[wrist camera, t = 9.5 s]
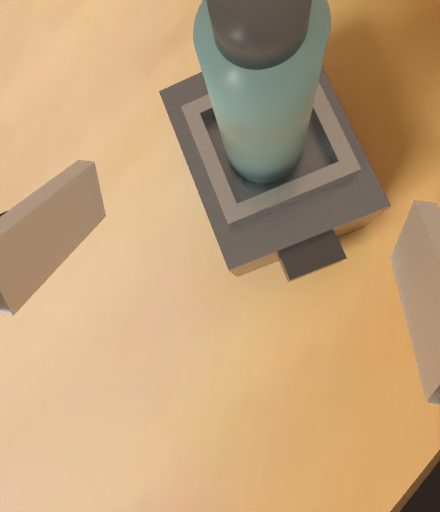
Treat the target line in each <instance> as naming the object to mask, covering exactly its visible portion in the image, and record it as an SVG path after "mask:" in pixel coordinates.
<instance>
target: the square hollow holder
mask: <svg viewBox="0 0 440 512" xmlns="http://www.w3.org/2000/svg"><path fill="white" fill-rule="evenodd" d="M159 92H160V95H161V98H162V100H163V103H164V105H165V108H166V110H167V113H168V115H169V118H170V121H171V123H172V126H173V128H174V131H175V133H176V136H177V139H178V141H179V144H180V146H181V149H182V151H183V154H184V157H185V159H186V162H187V164H188V167H189V169H190V172H191V174H192V177H193V180H194V182H195V185H196V187H197V190H198V192H199V195H200V198H201V200H202V203H203V205H204V208H205V210H206V213H207V216H208V218H209V221H210V223H211V226H212V228H213V231H214V233H215V236H216V239H217V241H218V244H219V246H220V249H221V251H222V254H223V257H224V259H225V262H226V264H227V267H228V269H229V271H230V272H232V273H233V274H234V275H236V276H237V277H238V276H241V275H243V274H246V273H248V272H251V271H253V270H256V269H258V268H261V267H263V266H266V265H268V264H271V263H273V262H276V261H278V260H279V261H280V264H281V266H282V269H283V271H284V273H285V276H286V278H287V280H288V282H290V281H293V280H295V279H298V278H300V277H303V276H305V275H308V274H311V273H313V272H316V271H318V270H321V269H323V268H326V267H328V266H331V265H334V264H336V263H339V262H341V261H342V260H344V259H346V255H345V253H344V251H343V249H342V247H341V244H340V242H339V240H338V238H337V237H339V236H341V235H344V234H346V233H349V232H351V231H354V230H356V229H359V228H361V227H364V226H366V225H367V224H368V223H370V222H371V221H372V220H373V219H375V218H376V217H377V216H378V215H380V214H381V213H382V212H383V211H385V210H386V209H387V208H388V207H390V206H391V205H390V203H389V201H388V198H387V196H386V194H385V192H384V190H383V188H382V186H381V184H380V182H379V180H378V178H377V176H376V174H375V172H374V170H373V168H372V166H371V164H370V162H369V160H368V158H367V156H366V154H365V152H364V150H363V148H362V146H361V144H360V142H359V140H358V138H357V136H356V134H355V132H354V130H353V127H352V125H351V123H350V121H349V119H348V117H347V115H346V113H345V111H344V109H343V107H342V105H341V103H340V101H339V99H338V97H337V95H336V93H335V91H334V89H333V87H332V85H331V83H330V81H329V79H328V77H327V75H326V73H325V71H324V69H323V67H322V68H321V72H320V77H319V81H318V86H317V90H316V94H315V99H314V103H313V108H312V112H311V117H310V121H309V125H308V130H307V134H306V139H305V143H304V148H303V152H302V155H301V158H300V160H299V162H298V164H297V165H296V167H295V168H294V169H293V170H292V171H291V172H290V173H289V174H288V175H286V176H284V177H283V178H281V179H279V180H276V181H272V182H266V183H260V182H253V181H250V180H247V179H245V178H243V177H242V176H240V175H239V174H238V173H237V172H236V171H235V170H234V169H233V168H232V166H231V165H230V163H229V161H228V158H227V155H226V151H225V148H224V144H223V141H222V138H221V134H220V131H219V127H218V124H217V121H216V117H215V114H214V111H213V107H212V104H211V100H210V97H209V94H208V90H207V87H206V83H205V80H204V77H203V73H202V72H201V73H198V74H196V75H194V76H192V77H190V78H187V79H185V80H183V81H181V82H179V83H177V84H174V85H172V86H170V87H168V88H166V89H163V90H161V91H159Z"/></svg>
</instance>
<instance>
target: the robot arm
mask: <svg viewBox="0 0 440 512" xmlns="http://www.w3.org/2000/svg"><path fill="white" fill-rule="evenodd" d="M105 216H106V214H105V210H104V205H103V200H102V195H101V191H100V186H99V181H98V177H97V172H96V167H95V162H90V161H82V160H78V161H77V162H75V163H74V164H72V165H71V166H70V167H68V168H67V169H66V170H64V171H63V172H61V173H60V174H59V175H57V176H56V177H54V178H53V179H52V180H50V181H49V182H48V183H46V184H45V185H43V186H42V187H41V188H39V189H38V190H37V191H35V192H34V193H32V194H31V195H30V196H28V197H27V198H26V199H24V200H23V201H21V202H20V203H19V204H17V205H16V206H15V207H13V208H12V209H10V210H9V211H6V212H4V213H2V214H0V313H2V314H6V315H11V316H13V315H14V314H15V313H16V312H17V311H18V310H19V309H20V308H21V307H22V306H23V305H24V304H25V303H26V301H27V300H28V299H29V298H30V297H31V296H32V295H33V294H34V293H35V292H36V291H37V290H38V289H39V287H40V286H41V285H42V284H43V283H44V282H45V281H46V280H47V279H48V278H49V277H50V276H51V275H52V273H53V272H54V271H55V270H56V269H57V268H58V267H59V266H60V265H61V264H62V263H63V262H64V261H65V259H66V258H67V257H68V256H69V255H70V254H71V253H72V252H73V251H74V250H75V249H76V248H77V247H78V245H79V244H80V243H81V242H82V241H83V240H84V239H85V238H86V237H87V236H88V235H89V234H90V233H91V231H92V230H93V229H94V228H95V227H96V226H97V225H98V224H99V223H100V222H101V221H102V220H103V219H104V217H105ZM391 262H392V266H393V270H394V274H395V278H396V282H397V286H398V290H399V294H400V298H401V302H402V306H403V309H404V313H405V317H406V321H407V325H408V329H409V333H410V337H411V341H412V345H413V349H414V353H415V357H416V361H417V365H418V369H419V373H420V377H421V381H422V385H423V389H424V393H425V397H426V401H427V402H429V403H434V404H439V405H440V210H439V208H438V206H437V204H436V203H429V202H421V201H414V203H413V205H412V207H411V210H410V212H409V215H408V217H407V220H406V222H405V224H404V227H403V229H402V232H401V234H400V236H399V239H398V241H397V244H396V246H395V249H394V251H393V253H392V256H391ZM391 512H440V450H439V451H438V453H437V454H436V455H435V456H434V458H433V459H432V460H431V462H430V463H429V464H428V465H427V467H426V468H425V469H424V470H423V472H422V473H421V474H420V475H419V477H418V478H417V479H416V480H415V482H414V483H413V484H412V485H411V487H410V488H409V489H408V490H407V492H406V493H405V494H404V495H403V497H402V498H401V499H400V500H399V502H398V503H397V504H396V505H395V507H394V508H393V509H392V510H391Z"/></svg>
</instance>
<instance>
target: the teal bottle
mask: <svg viewBox="0 0 440 512" xmlns="http://www.w3.org/2000/svg"><path fill="white" fill-rule="evenodd" d="M330 24H331V17H330V10H329V6H328V2H327V0H203V1H202V3H201V5H200V7H199V9H198V12H197V14H196V18H195V22H194V29H193V40H194V45H195V49H196V53H197V56H198V60H199V63H200V66H201V70H202V73H203V77H204V80H205V83H206V87H207V90H208V94H209V97H210V100H211V104H212V107H213V111H214V114H215V117H216V121H217V124H218V127H219V131H220V134H221V138H222V141H223V144H224V148H225V151H226V155H227V158H228V161H229V163H230V165H231V166H232V168H233V169H234V170H235V171H236V172H237V173H238V174H239V175H240V176H242V177H243V178H245V179H247V180H250V181H253V182H260V183H266V182H272V181H276V180H279V179H281V178H283V177H284V176H286V175H288V174H289V173H290V172H291V171H292V170H293V169H294V168H295V167H296V165H297V164H298V162H299V160H300V158H301V155H302V152H303V148H304V143H305V139H306V134H307V130H308V125H309V121H310V117H311V112H312V108H313V103H314V99H315V94H316V90H317V86H318V81H319V77H320V72H321V68H322V63H323V59H324V55H325V50H326V46H327V41H328V37H329V32H330Z"/></svg>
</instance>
